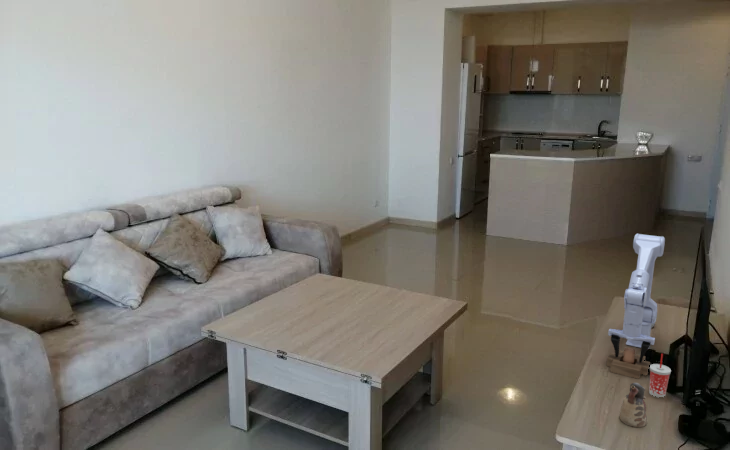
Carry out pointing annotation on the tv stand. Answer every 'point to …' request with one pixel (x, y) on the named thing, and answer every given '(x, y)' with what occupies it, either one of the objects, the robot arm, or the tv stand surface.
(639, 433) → the tv stand surface
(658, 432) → the tv stand surface
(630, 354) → the peg
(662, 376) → the beverage cup
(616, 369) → the socket block
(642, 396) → the figurine
